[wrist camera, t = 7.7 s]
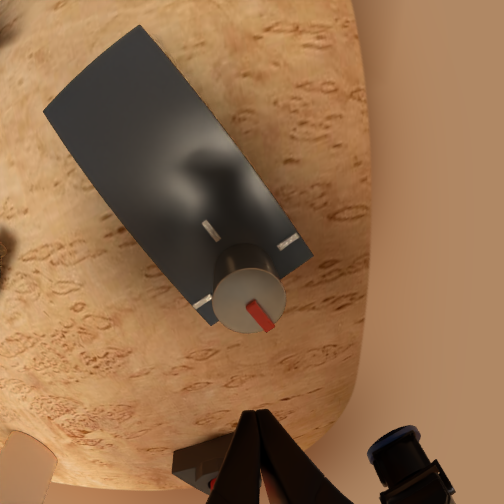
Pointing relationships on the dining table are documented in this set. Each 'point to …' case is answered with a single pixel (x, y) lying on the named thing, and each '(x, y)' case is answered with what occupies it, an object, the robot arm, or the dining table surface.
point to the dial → (247, 290)
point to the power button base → (201, 462)
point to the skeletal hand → (2, 254)
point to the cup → (25, 470)
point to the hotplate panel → (169, 168)
